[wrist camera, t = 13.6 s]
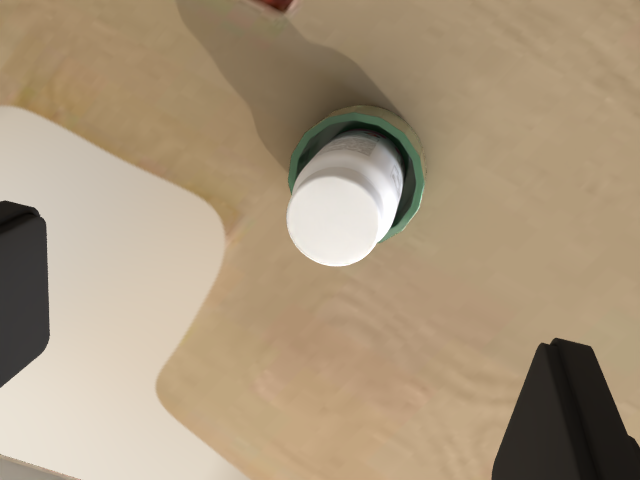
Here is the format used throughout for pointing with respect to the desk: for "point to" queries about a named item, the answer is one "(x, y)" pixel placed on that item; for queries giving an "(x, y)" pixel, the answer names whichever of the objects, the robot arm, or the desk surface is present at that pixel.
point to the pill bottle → (346, 197)
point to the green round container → (380, 123)
